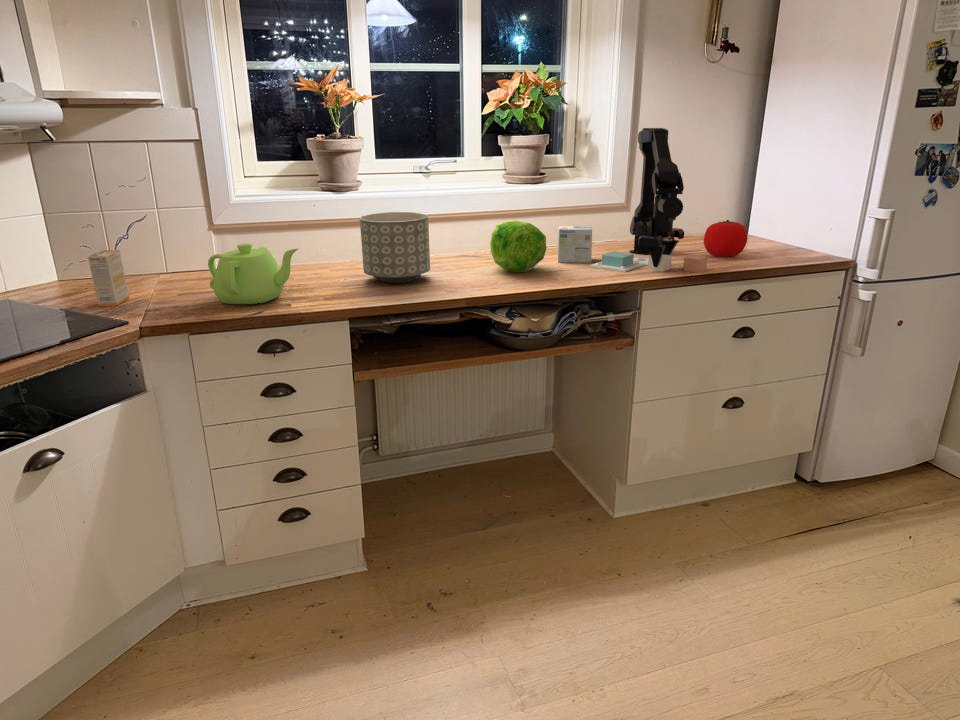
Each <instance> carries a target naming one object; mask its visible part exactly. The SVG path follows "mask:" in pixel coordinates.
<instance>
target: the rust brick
mask: <svg viewBox="0 0 960 720" xmlns="http://www.w3.org/2000/svg"><path fill="white" fill-rule="evenodd" d="M683 258H684V259H683V269H682V270H683V271H685V272H692V273H698V274H699V273H702V272H705V271H706V270H707V263H708V256H703V255H696V254H690V255H688V256H685V257H683Z"/></svg>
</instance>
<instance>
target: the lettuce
mask: <svg viewBox="0 0 960 720" xmlns="http://www.w3.org/2000/svg"><path fill="white" fill-rule="evenodd" d="M547 248H548V247H547V236H546V235H545V234H544V233H543V232H542V231H541V230H540V229H539V228H538V227H536V226H535V224H533V223H530V222H524V221H520V220H511V221H504V222H502V223H499V224H497V225H496V226H495V227H494V229H493V231H492V233H491V238H490V253H491V256H492V259H493V260H494V263H495V264H496V265H497V266H499V267H500V268H501V269H503V270H507V271H510V272H512V273H521V272H522V273H525V272H529V271H530V270H532V269H533V268H534V267H535V266H537V265H538V264H539V263H541V261H543V260H544V259H545V258H544V257H545V256H546V252H547Z"/></svg>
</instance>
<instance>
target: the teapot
mask: <svg viewBox="0 0 960 720" xmlns="http://www.w3.org/2000/svg"><path fill="white" fill-rule="evenodd" d="M252 246H253V244H251V243H239V244H238V245H236V247H237V249H234V250H230V251H227V252H224V253H215V254H214V255H211V256H210V257H209V259H208V261H207V266H208V269H209V272H210V274H211V277H212V278H211V279H210V281H209V287H210V288H211V290H213V291H214V295H215V296H216V297H217V299H218V300H219V301H220V302H221V303H223V304H228V305H258V304H257V303H260V304H263V303H266V302H269V301H272V300H275V299H276V298H278V297H279V296H280V295H281V293H282V292H283V290H284V287H285V284H286V283H287V281H289V278H290V275H291V261H292V257H293V255H294V253H296V252H297V251H298V250H300V248H293V249H288V250H286V251H285V252H284V253H283V257H282V261H281V262H282V263H281V268H280V265H279V264H278V262H277V260H276V258H275V257H274V255H273V253H272V252H271V251H270V250H269V249H268V248H267V247H265V246H260V247H258V248H253V247H252ZM216 259H219V260H218V263H217V266H215V260H216Z"/></svg>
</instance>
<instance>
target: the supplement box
mask: <svg viewBox="0 0 960 720" xmlns="http://www.w3.org/2000/svg"><path fill="white" fill-rule="evenodd" d="M87 260H88V265H89V269H90V274H91V279H92V282H93V286H94V291H95V296H96V300H97V304H98V307H99V306H107V307H118V306H119V305H120V304H122V303H123V302H125V301H126V300H129V298H130V296H129V290H128V286H127V280H126V275H125V271H124V266H123V260H122V256H121V251H120V249H101V250H99V251H96V252H95V253H93V254H91V255H88V256H87ZM117 305H118V306H117Z"/></svg>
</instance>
